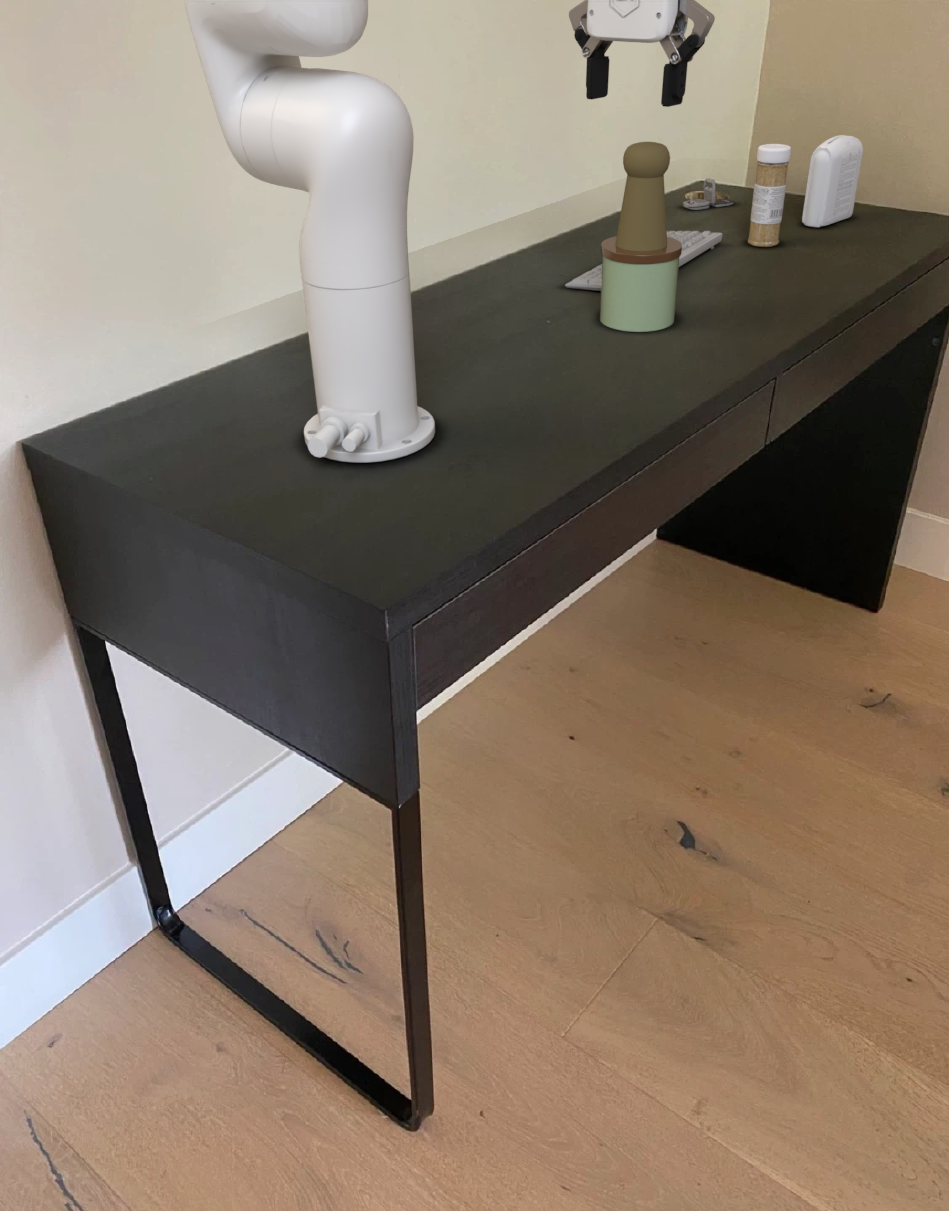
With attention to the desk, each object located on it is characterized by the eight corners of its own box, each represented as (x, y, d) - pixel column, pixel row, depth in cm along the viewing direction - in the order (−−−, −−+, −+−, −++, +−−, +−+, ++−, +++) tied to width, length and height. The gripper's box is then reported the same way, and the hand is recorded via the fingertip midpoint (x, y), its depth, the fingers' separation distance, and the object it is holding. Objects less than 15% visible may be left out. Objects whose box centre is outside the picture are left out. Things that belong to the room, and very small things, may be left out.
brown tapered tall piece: (666, 251, 119) (673, 148, 113) (613, 250, 120) (617, 147, 114) (668, 237, 124) (676, 138, 117) (617, 236, 125) (622, 137, 118)
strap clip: (690, 211, 170) (693, 183, 168) (680, 207, 173) (683, 180, 170) (734, 205, 173) (737, 178, 171) (724, 201, 175) (727, 174, 173)
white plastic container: (831, 212, 167) (844, 129, 160) (856, 217, 164) (870, 132, 157) (796, 225, 161) (808, 139, 154) (821, 230, 158) (835, 142, 152)
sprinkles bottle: (770, 238, 155) (782, 141, 148) (784, 246, 151) (797, 147, 144) (741, 241, 154) (752, 143, 147) (755, 249, 151) (767, 149, 143)
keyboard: (657, 236, 158) (658, 222, 157) (722, 245, 153) (723, 231, 152) (564, 287, 138) (564, 272, 137) (634, 299, 133) (635, 283, 132)
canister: (670, 335, 122) (677, 257, 117) (591, 329, 124) (594, 252, 119) (680, 309, 129) (686, 235, 124) (605, 305, 132) (608, 231, 127)
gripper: (553, -87, 106) (549, 99, 115) (701, -91, 96) (683, 112, 105) (596, -87, 110) (589, 91, 120) (742, -91, 101) (721, 103, 110)
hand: (633, 101), depth 112 cm, fingers open, 9 cm apart
